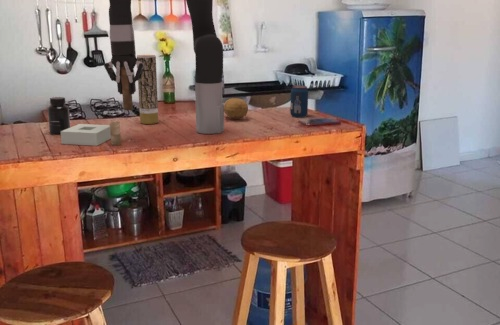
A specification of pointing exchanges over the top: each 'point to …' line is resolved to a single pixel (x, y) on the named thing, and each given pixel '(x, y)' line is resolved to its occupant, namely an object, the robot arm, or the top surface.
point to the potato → (235, 108)
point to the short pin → (115, 133)
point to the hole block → (86, 134)
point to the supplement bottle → (58, 115)
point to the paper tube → (148, 90)
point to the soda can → (299, 101)
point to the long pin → (126, 90)
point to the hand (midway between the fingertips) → (127, 93)
